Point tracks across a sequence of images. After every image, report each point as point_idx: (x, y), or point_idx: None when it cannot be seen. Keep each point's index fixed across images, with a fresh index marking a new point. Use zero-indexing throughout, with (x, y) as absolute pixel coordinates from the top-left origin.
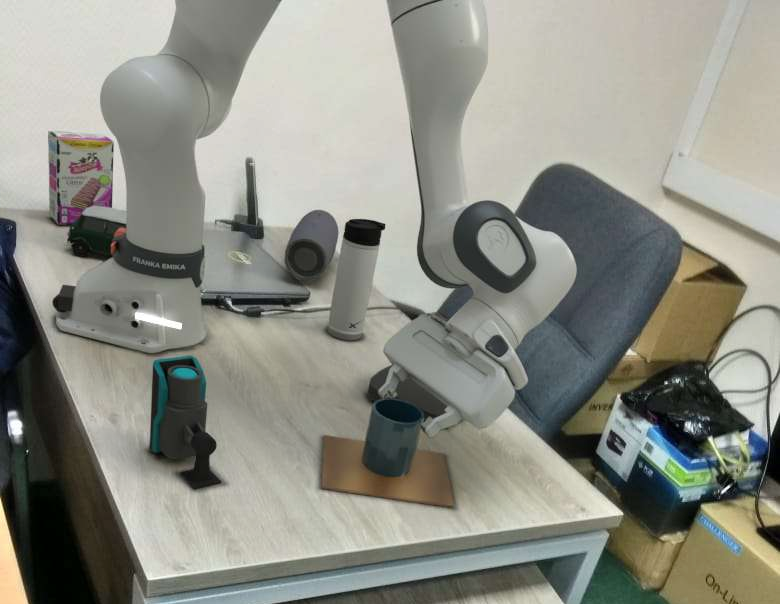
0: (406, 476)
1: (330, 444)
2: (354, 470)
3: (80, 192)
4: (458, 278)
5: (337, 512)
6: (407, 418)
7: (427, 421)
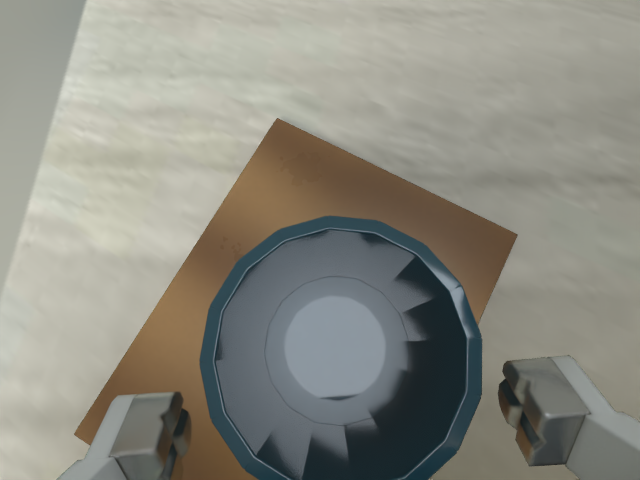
0: None
1: (463, 227)
2: None
3: None
4: None
5: (182, 115)
6: (385, 452)
7: (144, 422)
